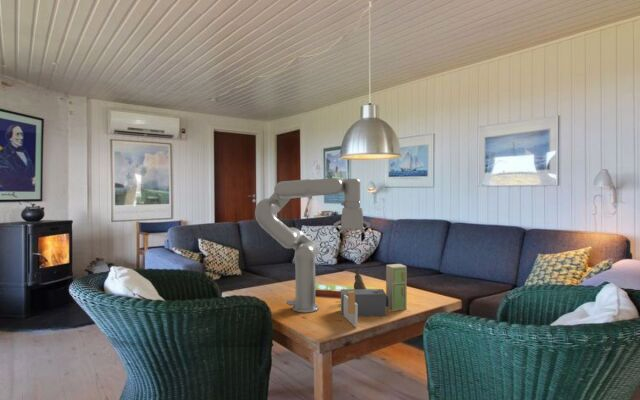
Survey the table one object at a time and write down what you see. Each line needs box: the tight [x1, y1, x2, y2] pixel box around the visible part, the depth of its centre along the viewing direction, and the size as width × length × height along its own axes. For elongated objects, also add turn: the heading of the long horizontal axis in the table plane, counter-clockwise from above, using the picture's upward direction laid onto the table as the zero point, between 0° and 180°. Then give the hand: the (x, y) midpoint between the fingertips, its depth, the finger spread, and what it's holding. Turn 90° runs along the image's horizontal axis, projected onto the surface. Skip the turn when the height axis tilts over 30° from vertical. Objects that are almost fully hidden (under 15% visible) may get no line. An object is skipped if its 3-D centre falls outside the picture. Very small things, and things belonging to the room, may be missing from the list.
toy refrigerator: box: [385, 263, 408, 312], centre depth 193 cm, size 8×7×21 cm
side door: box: [342, 291, 359, 328], centre depth 174 cm, size 15×3×14 cm, turn 16°
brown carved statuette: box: [353, 269, 367, 289], centre depth 205 cm, size 12×6×18 cm, turn 34°
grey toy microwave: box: [340, 288, 389, 317], centre depth 187 cm, size 22×9×11 cm, turn 91°
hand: (352, 241), depth 188 cm, fingers open, 9 cm apart
